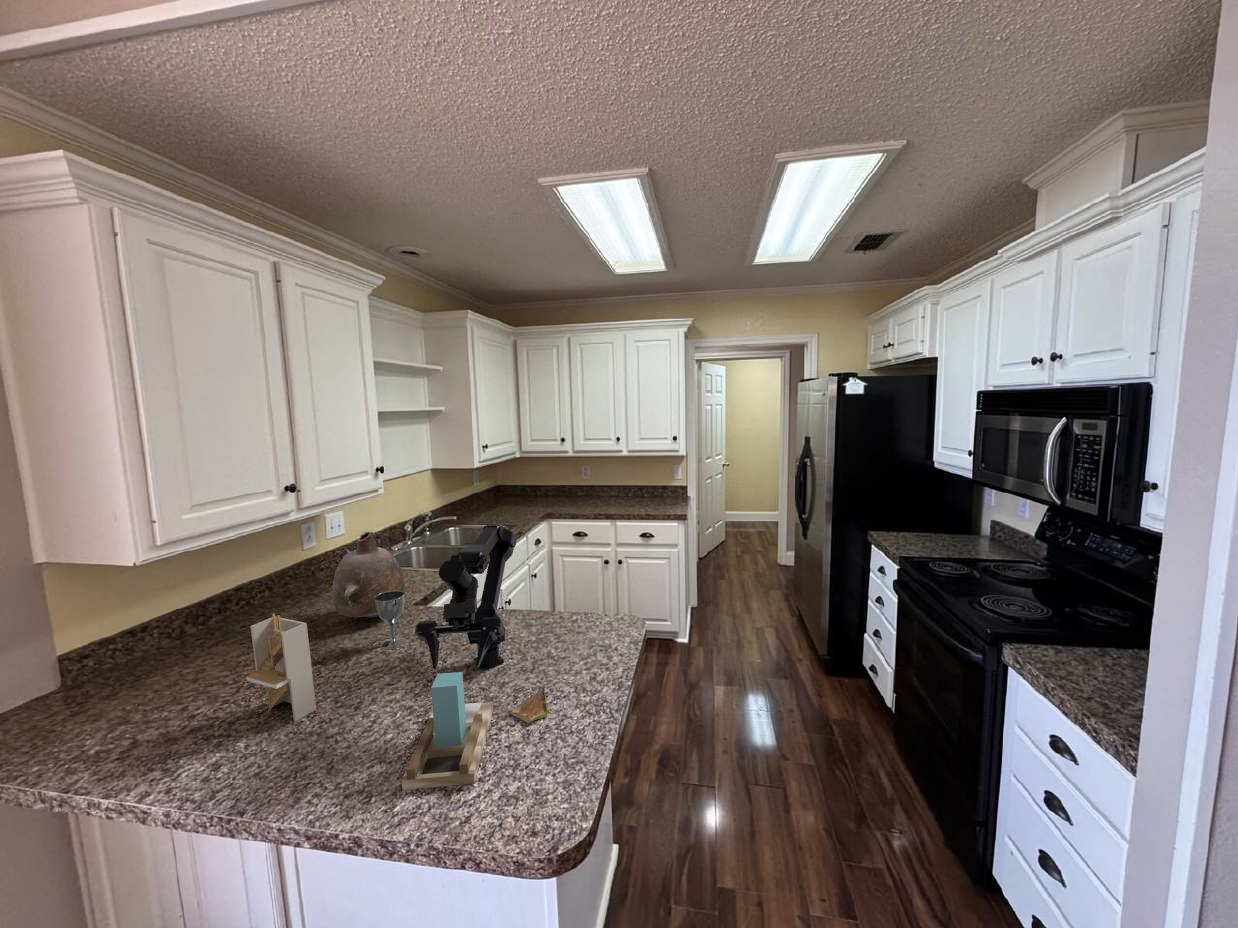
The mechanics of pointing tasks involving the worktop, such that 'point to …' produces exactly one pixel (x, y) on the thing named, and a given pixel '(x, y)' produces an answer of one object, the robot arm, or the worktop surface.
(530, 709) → the shard
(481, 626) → the robot arm
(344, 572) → the jug
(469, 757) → the beige tray
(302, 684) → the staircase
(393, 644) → the wine glass
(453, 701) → the tall block
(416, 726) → the worktop surface
